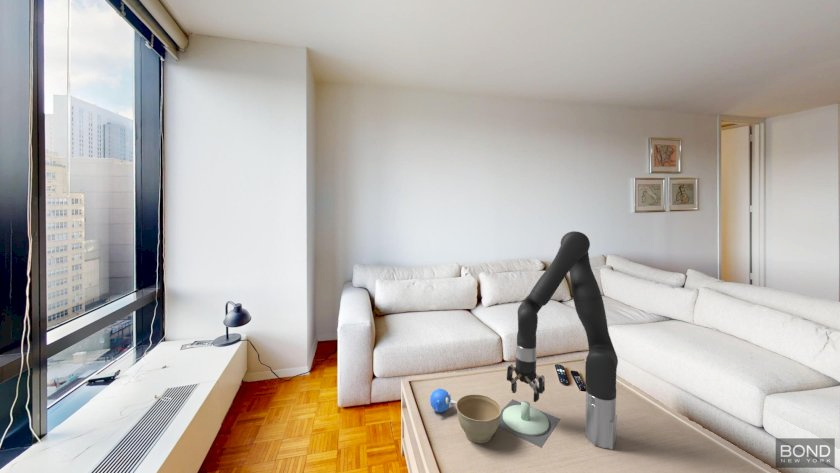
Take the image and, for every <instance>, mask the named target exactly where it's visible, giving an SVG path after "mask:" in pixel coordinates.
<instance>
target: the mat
mask: <svg viewBox="0 0 840 473" xmlns="http://www.w3.org/2000/svg"><path fill="white" fill-rule="evenodd" d="M521 402H522V401H521ZM521 402H520V401H518V400H515V399H511V400H510V401H508V403H507V404H506V405H505V406H504V407H503V408H501V415H500V422H499V426H498V428H500V429H502V430H504V431H506V432H507V433H510V434H512V435H514V436H516V437H518V438H520V439H523V440H525V441H527V442H529V443H531V444H533V445H534V446H537V447H538V448H542V447H543V446H544V445H545V443H546V441H547V440H548V438H549V437H550V435H551V434H552V432H553V431H554V430H555V428H556V427H557V426H558V423H559V422H560V421H561V418H560V417H557V416H555V415H553V414H550V413H547V412H545V411H543V410H540V409H537V408H536V409H537V410H539V411H541V412H542V413H543V414H544V415H545V416H546V417H547V419H548V421H549V428H548V430H547V431H546V432H545V433H544V434H542V435H538V436H527V435H522V434H519V433H517V432H515V431H513V430H511V429H510V428H508V427H507V426H506V424H505V423H504V421H503V412H504V410H505V409H506V408H508V407H510V406H513V405H521Z"/></svg>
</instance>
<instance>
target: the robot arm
mask: <svg viewBox="0 0 840 473" xmlns="http://www.w3.org/2000/svg"><path fill="white" fill-rule="evenodd" d="M590 246H591V243H590V240H589V237H588V236H587V235H586V234H585V233H583V232H580V231H573V230H572V231H569V232H567V233H565V234H564V235H563V236H562V237H561V239H560V246H559V249H558V250H557V253H556V255H555V257H554V258H553V260H552V262H551V263H550V265H549V266H548V267H547V268H546V270H545V271H544V273H543V274H542V275H541V276H540V277H539V279H538V280H537V281H536V283H535V284H534V286H533V287H532V289H531V290H530V293H529V294H528V295H527V296H526V297H525V299H523V301H522V302H521V303H520V305H519V306H518V308H517V332H516V333H517V334H516V347H515V366H514V365H513V364H509V365H508V366H507V373H506V381H508V382H510V384H511V386H510V388H511V389H510V390H511V392H512V393H513V394H515V393H517V390H518V389H517V386H518V384H517V382H518V380H519V381H520V382H521V383H525V384H526V385H529V387H530V388H531V389H532V390H533V402H534V403H537V402H538V401H539V400H540V395H541V394H543V393H544V392H545V390H546V386H545V385H546V384H545V376H544V375H538V374H537V372H536V371H537V331H538V322H539V320H538V319H539V317H538V313H539V312H540V310H541V309H542V308H543V306H546V305H547V304H549V302H550V300H551V299H552V298H553V296H554V294H555V293H556V292H557V289H559V286H561V283H562V282H563V280H564V279H565V277H566V276H567V274H568V273H569V279H570V280H569V281H570V286H571V287H570V288H571V295H572V300H573V304H574V307H575V311H576V314H577V317H578V319H579V321H580V323H581V324H582V326H583V328H584V331H585V334H586V338H587V344H588V354H587V356H586V358H585V368H584V369H585V370H584V371H585V372H584V373H585V377H584V379H585V386H586V388H585V419H584V426H585V427H584V435H585V438H586V439H587V441H588V442H590V443H591V444H593V445H594V446H596V447H599V448H602V449H610V450H614V447H615V445H616V442H617V421H618V415H617V414H616V410H617V370H618V369H617V368H618V364H619V363H618V362H619V358H618V356H617V353H616V350H615V347H614V345H613V342H612V338H611V336H610V333H609V332H610V331H609V328H608V319H607V313H606V309H605V304H604V300H603V296H602V292H601V289H600V287H599V284H598V281H597V279H596V275H595V274H594V271H593V269H592V267H591V260H590V256H589V254H590V253H589V250H590ZM513 372H514V373H515V375H516V376H515V377H513V375H514V374H513Z"/></svg>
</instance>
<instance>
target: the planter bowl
mask: <svg viewBox="0 0 840 473" xmlns="http://www.w3.org/2000/svg"><path fill="white" fill-rule="evenodd" d="M456 402H457V404H456V405H455V406H456V413H457V420H458V422H459V425H460V427H461V429H462V430H463V432H464V434H465V437H466V438H467V439H468V440H469V441H471V442H472V443H473V442H474V443H476V444H484V443H487V442H489V441H490V440H491V439H492V437H493V435H494V434H495V433H496V431H497V430H498V428H499V427H498V426H499V422H500V415H501V410H502V407H501V405H500V403H499V402H498V401H497V400H496V399H494V398H492V397H490V396H488V395H484V394H479V393H478V394H473V393H472V394H466V395H464V396H462V397H460V398H458V400H457V401H456Z"/></svg>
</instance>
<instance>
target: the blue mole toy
mask: <svg viewBox="0 0 840 473" xmlns="http://www.w3.org/2000/svg"><path fill="white" fill-rule="evenodd" d="M429 402H430V406H431V407H432V409H433V410H434V412H435V411H436V413H444V412H446V411H447V410H448V409H451V408H452V407H454V406H456V404H457V401H455V400H453V399H452V398H451V394H450V393H449V391H447V390H446V389H443V388H437V389H436V388H435V389H434V390H433V391H432V392H431V395H430V398H429Z"/></svg>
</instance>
